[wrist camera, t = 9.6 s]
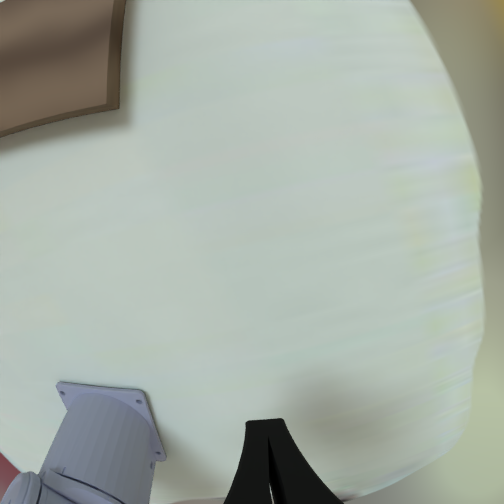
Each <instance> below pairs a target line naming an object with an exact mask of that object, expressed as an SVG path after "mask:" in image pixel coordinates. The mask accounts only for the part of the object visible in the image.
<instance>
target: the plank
mask: <svg viewBox="0 0 504 504" xmlns="http://www.w3.org/2000/svg"><path fill="white" fill-rule="evenodd" d="M125 2H126V0H5V1H3V2H1V3H0V137H3V136H6V135H9V134H12V133H15V132H19V131H22V130H25V129H29V128H32V127H36V126H40V125H43V124H47V123H51V122H55V121H59V120H64V119H68V118H72V117H77V116H82V115H87V114H92V113H97V112H102V111H108V110H114V109H119V88H120V60H121V44H122V31H123V20H124V11H125Z"/></svg>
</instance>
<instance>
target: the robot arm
mask: <svg viewBox="0 0 504 504" xmlns="http://www.w3.org/2000/svg"><path fill="white" fill-rule="evenodd" d="M56 388H57V390H58V393H59V395H60V397H61V399H62V401H63V403H64V405H65V407H66V409H67V413H66V415H65V417H64V419H63V421H62V423H61V425H60V428H59V430H58V432H57V434H56V436H55V438H54V440H53V442H52V445H51V447H50V449H49V451H48V454H47V456H46V458H45V460H44V463H43V465H42V467H41V470H40V472H39V474H35V473H34V472H32V471H29V472H27V473H20V474H18V475H17V476H16V477H15V479H14V480H13V481H12V483H11V484H10V486H9V487H8V489H7V491H6V493H5V495H4V497H3V499H2V501H1V503H0V504H149V501H150V494H151V487H152V481H153V475H154V469H155V463H156V461H165V460H166V454H165V452H164V449H163V446H162V444H161V441H160V438H159V436H158V433H157V430H156V427H155V424H154V421H153V418H152V415H151V412H150V409H149V406H148V403H147V400H146V397H145V394H144V393H143V392H142V391H140V390H133V389H119V388H107V387H97V386H88V385H80V384H72V383H65V382H58V383H57V384H56ZM139 400H141V401H139ZM269 483H270V484H269ZM270 487H271V492H272V496H273V500H274V504H344V503H343V502H342V501H341V500H340V499H339V498H337V497H336V496H335V495H334V494H333V493H332V492H331V490H330V489H329V488H328V487H327V486H326V485H325V484H324V483H323V482H322V480H321V479H320V478H319V477H318V476H317V474H316V473H315V472H314V471H313V469H312V468H311V467H310V465H309V464H308V462H307V461H306V459H305V458H304V456H303V455H302V454H301V452H300V450H299V449H298V447H297V446H296V444H295V442H294V440H293V439H292V437H291V435H290V433H289V431H288V429H287V426H286V424H285V422H284V420H283V419H282V418H277V419H266V420H251V421H247V422H246V431H245V440H244V445H243V450H242V454H241V458H240V462H239V465H238V469H237V472H236V474H235V477H234V480H233V483H232V486H231V488H230V490H229V493H228V495H227V497H226V499H225V502H224V504H272V499H271V493H270Z"/></svg>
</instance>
